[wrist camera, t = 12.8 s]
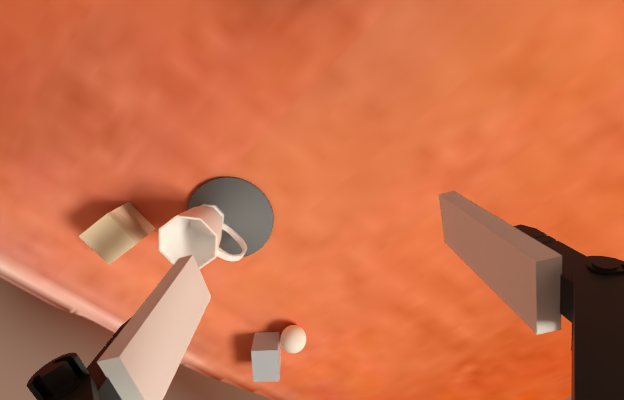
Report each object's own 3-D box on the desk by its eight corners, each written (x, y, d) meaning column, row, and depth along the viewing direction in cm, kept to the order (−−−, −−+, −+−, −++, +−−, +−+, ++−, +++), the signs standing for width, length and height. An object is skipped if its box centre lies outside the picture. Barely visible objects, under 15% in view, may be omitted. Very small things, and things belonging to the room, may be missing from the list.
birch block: (103, 221, 42) (78, 236, 37) (129, 201, 41) (106, 213, 36) (130, 247, 43) (109, 264, 38) (155, 228, 42) (137, 243, 38)
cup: (196, 184, 40) (171, 203, 32) (262, 219, 42) (253, 245, 34) (174, 226, 42) (146, 253, 34) (239, 258, 43) (226, 291, 36)
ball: (278, 322, 48) (276, 341, 44) (301, 316, 48) (302, 335, 44) (285, 342, 49) (284, 362, 45) (308, 336, 49) (309, 355, 45)
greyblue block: (254, 331, 48) (250, 351, 45) (279, 330, 48) (277, 350, 45) (257, 361, 50) (253, 382, 46) (280, 360, 50) (279, 381, 46)
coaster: (174, 190, 41) (172, 191, 40) (257, 166, 40) (257, 167, 40) (206, 265, 44) (205, 267, 44) (284, 244, 44) (283, 246, 43)
